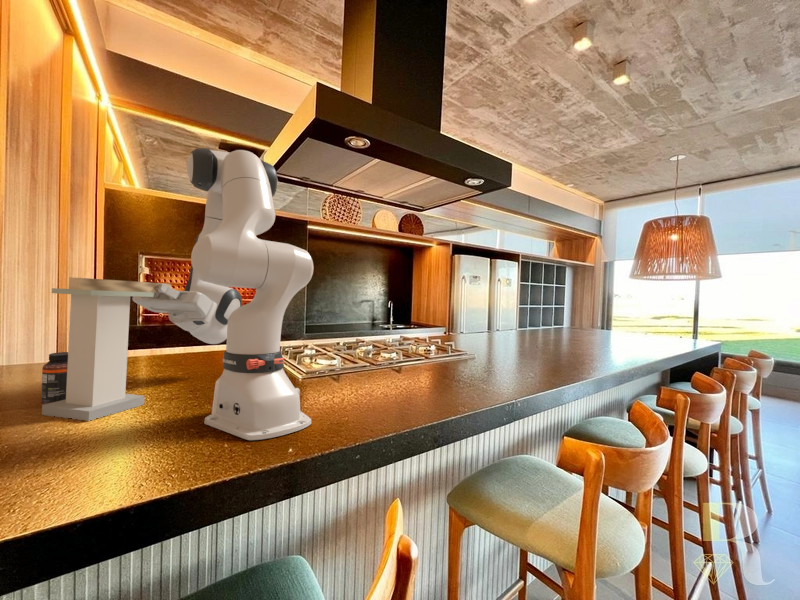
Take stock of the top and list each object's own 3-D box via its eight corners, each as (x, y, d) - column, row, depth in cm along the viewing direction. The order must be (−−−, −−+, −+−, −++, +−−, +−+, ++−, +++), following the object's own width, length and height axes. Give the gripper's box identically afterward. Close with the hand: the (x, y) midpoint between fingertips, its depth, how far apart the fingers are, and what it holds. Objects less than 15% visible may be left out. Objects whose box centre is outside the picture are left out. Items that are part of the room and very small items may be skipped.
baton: (162, 292, 93) (162, 283, 93) (170, 293, 92) (171, 283, 92) (68, 289, 71) (69, 277, 71) (79, 289, 71) (80, 277, 71)
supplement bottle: (76, 397, 83) (79, 350, 83) (77, 404, 79) (80, 354, 79) (41, 402, 79) (43, 352, 79) (40, 408, 75) (42, 356, 75)
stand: (110, 396, 85) (116, 290, 85) (151, 402, 83) (157, 292, 83) (41, 414, 72) (48, 288, 72) (88, 421, 69) (95, 290, 69)
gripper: (161, 300, 103) (123, 273, 91) (222, 304, 99) (190, 276, 87) (151, 319, 100) (110, 294, 88) (213, 324, 96) (179, 298, 84)
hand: (150, 285), depth 88 cm, fingers open, 4 cm apart
